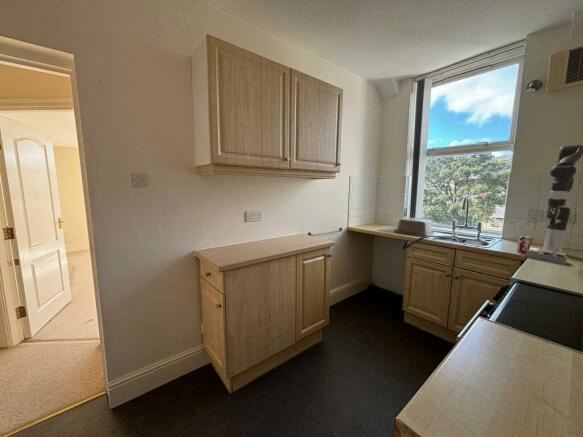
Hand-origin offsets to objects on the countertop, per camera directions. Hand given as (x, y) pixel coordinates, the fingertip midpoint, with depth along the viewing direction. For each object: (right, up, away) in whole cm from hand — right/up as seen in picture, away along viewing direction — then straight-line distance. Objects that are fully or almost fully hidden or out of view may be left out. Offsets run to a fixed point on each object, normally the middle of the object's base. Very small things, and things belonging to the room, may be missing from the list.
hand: (552, 225), depth 155 cm
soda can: (-1, -20, +19) cm, 28 cm away
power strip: (-1, -23, +4) cm, 23 cm away
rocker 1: (-4, -16, +8) cm, 18 cm away
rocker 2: (+3, -18, -2) cm, 18 cm away
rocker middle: (0, -17, +3) cm, 17 cm away
